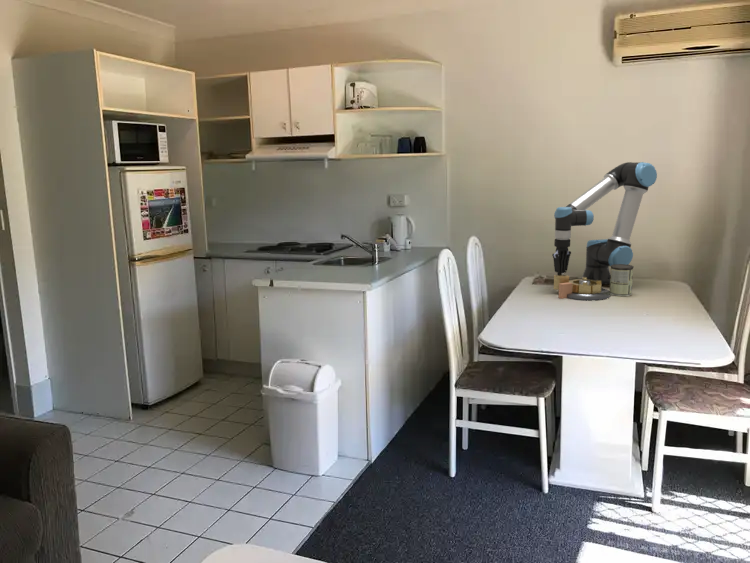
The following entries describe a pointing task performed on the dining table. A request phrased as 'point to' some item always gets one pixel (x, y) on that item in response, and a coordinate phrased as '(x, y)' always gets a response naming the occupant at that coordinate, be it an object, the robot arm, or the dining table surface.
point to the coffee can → (621, 280)
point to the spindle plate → (597, 296)
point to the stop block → (564, 290)
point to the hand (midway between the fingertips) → (560, 285)
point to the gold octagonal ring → (576, 287)
